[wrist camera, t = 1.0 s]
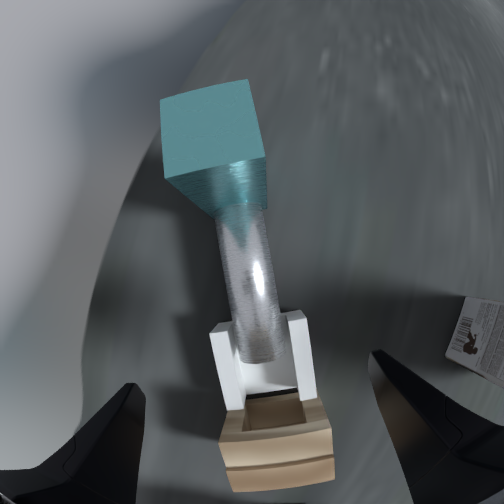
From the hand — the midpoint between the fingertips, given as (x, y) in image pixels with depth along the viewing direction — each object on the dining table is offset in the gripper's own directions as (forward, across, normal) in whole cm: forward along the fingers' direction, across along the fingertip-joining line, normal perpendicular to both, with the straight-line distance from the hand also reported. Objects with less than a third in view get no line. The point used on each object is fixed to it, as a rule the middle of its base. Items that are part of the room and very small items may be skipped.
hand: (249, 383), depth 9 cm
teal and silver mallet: (+12, 0, 0) cm, 12 cm away
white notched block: (+9, 0, +8) cm, 12 cm away
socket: (+6, 0, +13) cm, 15 cm away
